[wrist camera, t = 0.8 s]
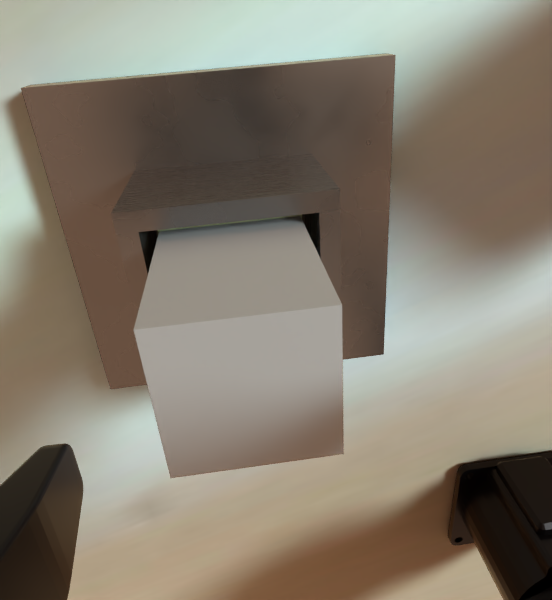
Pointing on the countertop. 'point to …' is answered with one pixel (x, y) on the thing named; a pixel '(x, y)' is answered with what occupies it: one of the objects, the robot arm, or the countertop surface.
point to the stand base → (220, 177)
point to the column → (241, 346)
